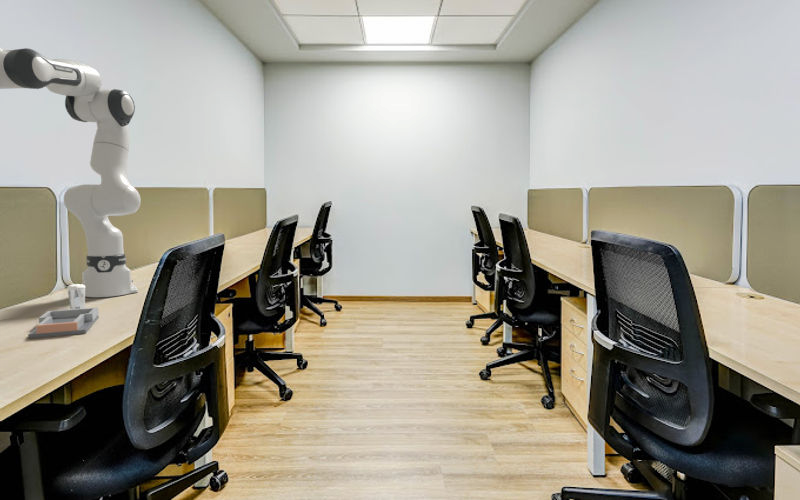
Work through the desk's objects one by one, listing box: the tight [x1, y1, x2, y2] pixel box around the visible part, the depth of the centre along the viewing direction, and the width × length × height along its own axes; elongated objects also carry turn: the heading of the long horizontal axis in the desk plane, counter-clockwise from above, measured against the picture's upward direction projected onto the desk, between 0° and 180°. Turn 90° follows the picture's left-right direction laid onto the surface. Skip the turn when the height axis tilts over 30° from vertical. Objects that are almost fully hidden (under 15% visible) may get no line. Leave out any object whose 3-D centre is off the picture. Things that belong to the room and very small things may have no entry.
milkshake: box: [66, 280, 86, 309], centre depth 144 cm, size 5×5×10 cm
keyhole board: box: [27, 306, 100, 339], centre depth 130 cm, size 18×12×3 cm, turn 23°
